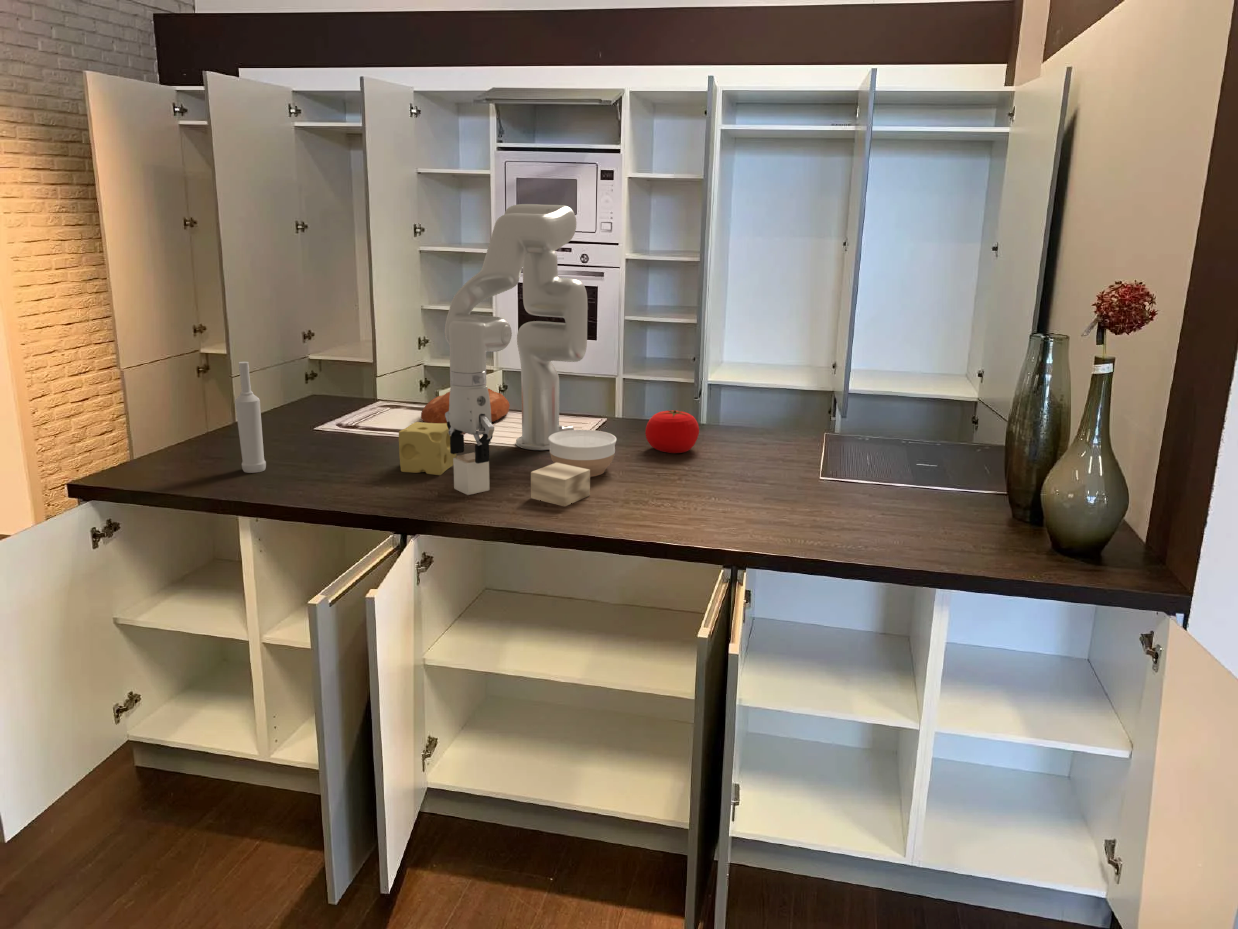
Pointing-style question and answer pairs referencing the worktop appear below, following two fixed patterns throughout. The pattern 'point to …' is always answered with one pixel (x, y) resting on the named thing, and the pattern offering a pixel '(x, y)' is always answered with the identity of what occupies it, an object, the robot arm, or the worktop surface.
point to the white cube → (470, 474)
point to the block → (560, 484)
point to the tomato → (672, 431)
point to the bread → (440, 406)
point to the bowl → (583, 449)
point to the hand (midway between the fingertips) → (469, 457)
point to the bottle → (249, 424)
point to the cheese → (425, 448)
